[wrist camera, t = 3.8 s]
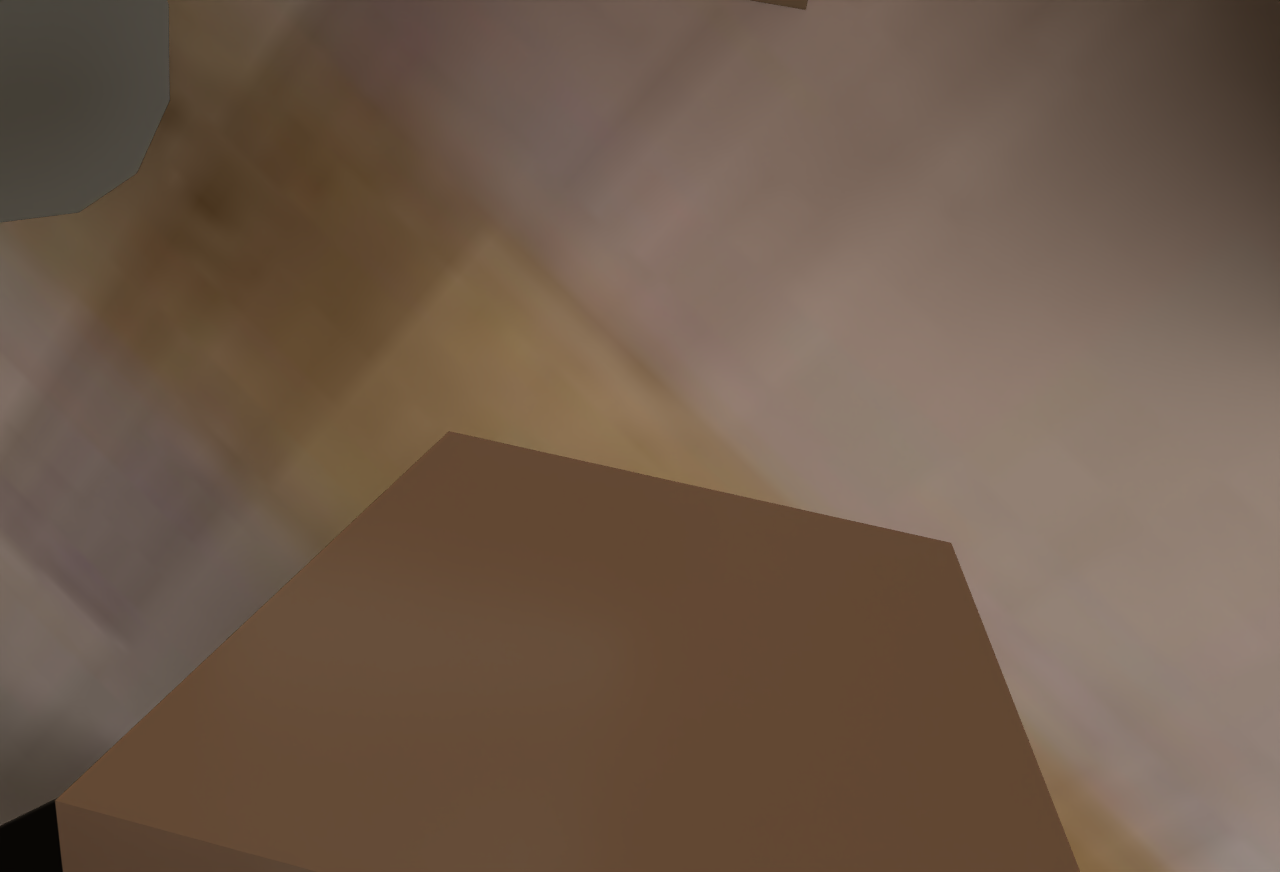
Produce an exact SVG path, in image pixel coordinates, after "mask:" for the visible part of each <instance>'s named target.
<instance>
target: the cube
mask: <svg viewBox="0 0 1280 872" xmlns="http://www.w3.org/2000/svg"><path fill="white" fill-rule="evenodd" d="M55 805H56V814H57V823H58V832H59V841H60V850H61V859H62V868H63V872H1080V870H1079V868H1078V865H1077V863H1076V860H1075V857H1074V855H1073V852H1072V850H1071V847H1070V845H1069V842H1068V840H1067V837H1066V835H1065V832H1064V829H1063V827H1062V824H1061V822H1060V819H1059V817H1058V814H1057V812H1056V809H1055V806H1054V804H1053V801H1052V799H1051V796H1050V794H1049V791H1048V789H1047V786H1046V784H1045V781H1044V778H1043V776H1042V773H1041V771H1040V768H1039V766H1038V763H1037V761H1036V758H1035V756H1034V753H1033V750H1032V748H1031V745H1030V743H1029V740H1028V738H1027V735H1026V733H1025V730H1024V727H1023V725H1022V722H1021V720H1020V717H1019V715H1018V712H1017V710H1016V707H1015V705H1014V702H1013V699H1012V697H1011V694H1010V692H1009V689H1008V687H1007V684H1006V682H1005V679H1004V676H1003V674H1002V671H1001V669H1000V666H999V664H998V661H997V659H996V656H995V654H994V651H993V648H992V646H991V643H990V641H989V638H988V636H987V633H986V631H985V628H984V625H983V623H982V620H981V618H980V615H979V613H978V610H977V608H976V605H975V603H974V600H973V597H972V595H971V592H970V590H969V587H968V585H967V582H966V580H965V577H964V574H963V572H962V569H961V567H960V564H959V562H958V559H957V557H956V554H955V552H954V549H953V546H952V544H951V543H949V542H945V541H940V540H936V539H931V538H927V537H922V536H918V535H913V534H909V533H904V532H900V531H895V530H891V529H886V528H882V527H877V526H873V525H868V524H864V523H859V522H855V521H850V520H846V519H841V518H837V517H832V516H828V515H823V514H819V513H814V512H810V511H805V510H801V509H796V508H792V507H787V506H783V505H778V504H774V503H769V502H765V501H760V500H756V499H751V498H747V497H742V496H738V495H733V494H729V493H724V492H720V491H715V490H711V489H706V488H702V487H697V486H693V485H688V484H684V483H679V482H675V481H670V480H666V479H661V478H657V477H652V476H648V475H643V474H639V473H634V472H630V471H625V470H621V469H616V468H612V467H607V466H603V465H598V464H594V463H589V462H585V461H580V460H576V459H571V458H567V457H562V456H558V455H553V454H549V453H544V452H540V451H535V450H531V449H526V448H522V447H517V446H513V445H508V444H504V443H499V442H495V441H490V440H486V439H481V438H477V437H472V436H468V435H463V434H459V433H454V432H450V431H449V432H448V433H447V434H445V435H444V436H443V437H442V438H441V439H440V440H439V441H438V442H437V443H436V444H435V445H434V446H433V447H432V448H431V449H430V450H428V451H427V452H426V453H425V454H424V455H423V456H422V457H421V458H420V459H419V460H418V461H417V462H416V463H415V464H414V465H412V466H411V467H410V468H409V469H408V470H407V471H406V472H405V473H404V474H403V475H402V476H401V477H400V478H399V479H398V480H396V481H395V482H394V483H393V484H392V485H391V486H390V487H389V488H388V489H387V490H386V491H385V492H384V493H383V494H382V495H380V496H379V497H378V498H377V499H376V500H375V501H374V502H373V503H372V504H371V505H370V506H369V507H368V508H367V509H366V510H364V511H363V512H362V513H361V514H360V515H359V516H358V517H357V518H356V519H355V520H354V521H353V522H352V523H351V524H350V525H348V526H347V527H346V528H345V529H344V530H343V531H342V532H341V533H340V534H339V535H338V536H337V537H336V538H335V539H334V540H332V541H331V542H330V543H329V544H328V545H327V546H326V547H325V548H324V549H323V550H322V551H321V552H320V553H319V554H318V555H316V556H315V557H314V558H313V559H312V560H311V561H310V562H309V563H308V564H307V565H306V566H305V567H304V568H303V569H302V570H300V571H299V572H298V573H297V574H296V575H295V576H294V577H293V578H292V579H291V580H290V581H289V582H288V583H287V584H286V585H284V586H283V587H282V588H281V589H280V590H279V591H278V592H277V593H276V594H275V595H274V596H273V597H272V598H271V599H270V600H268V601H267V602H266V603H265V604H264V605H263V606H262V607H261V608H260V609H259V610H258V611H257V612H256V613H255V614H254V615H252V616H251V617H250V618H249V619H248V620H247V621H246V622H245V623H244V624H243V625H242V626H241V627H240V628H239V629H238V630H236V631H235V632H234V633H233V634H232V635H231V636H230V637H229V638H228V639H227V640H226V641H225V642H224V643H223V644H222V645H220V646H219V647H218V648H217V649H216V650H215V651H214V652H213V653H212V654H211V655H210V656H209V657H208V658H207V659H206V660H204V661H203V662H202V663H201V664H200V665H199V666H198V667H197V668H196V669H195V670H194V671H193V672H192V673H191V674H190V675H188V676H187V677H186V678H185V679H184V680H183V681H182V682H181V683H180V684H179V685H178V686H177V687H176V688H175V689H174V690H172V691H171V692H170V693H169V694H168V695H167V696H166V697H165V698H164V699H163V700H162V701H161V702H160V703H159V704H158V705H157V706H155V707H154V708H153V709H152V710H151V711H150V712H149V713H148V714H147V715H146V716H145V717H144V718H143V719H142V720H141V721H139V722H138V723H137V724H136V725H135V726H134V727H133V728H132V729H131V730H130V731H129V732H128V733H127V734H126V735H125V736H123V737H122V738H121V739H120V740H119V741H118V742H117V743H116V744H115V745H114V746H113V747H112V748H111V749H110V750H109V751H107V752H106V753H105V754H104V755H103V756H102V757H101V758H100V759H99V760H98V761H97V762H96V763H95V764H94V765H93V766H91V767H90V768H89V769H88V770H87V771H86V772H85V773H84V774H83V775H82V776H81V777H80V778H79V779H78V780H77V781H75V782H74V783H73V784H72V785H71V786H70V787H69V788H68V789H67V790H66V791H65V792H64V793H63V794H62V795H61V796H59V797H58V798H57V799H56V800H55Z"/></svg>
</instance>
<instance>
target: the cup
mask: <svg viewBox="0 0 1280 872" xmlns="http://www.w3.org/2000/svg"><path fill="white" fill-rule="evenodd" d="M169 101H170V83H169V4H168V2H167V0H0V222H7V221H15V220H23V219H31V218H39V217H47V216H55V215H62V214H70V213H78V212H80V211H82V210H83V209H85V208H86V207H88V206H89V205H90V204H92V203H93V202H95V201H96V200H98V199H99V198H101V197H102V196H104V195H105V194H107V193H108V192H110V191H111V190H113V189H114V188H116V187H117V186H119V185H120V184H121V183H123V182H124V181H126V180H127V179H129V178H130V177H132V176H133V175H135V174H136V173H137V171H138V169H139V167H140V165H141V163H142V160H143V158H144V156H145V154H146V152H147V149H148V147H149V145H150V143H151V141H152V138H153V136H154V134H155V132H156V129H157V127H158V125H159V123H160V121H161V118H162V116H163V114H164V112H165V110H166V107H167V105H168V103H169Z"/></svg>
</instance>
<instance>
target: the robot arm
mask: <svg viewBox="0 0 1280 872" xmlns="http://www.w3.org/2000/svg"><path fill="white" fill-rule="evenodd" d="M56 799H57V798H56ZM56 799H54V800H52V801H50V802H48V803H46V804H44V805H42V806H40V807H38V808H36V809H34V810H32V811H30V812H28V813H26V814H24V815H22V816H19V817H17V818H15V819H13V820H11V821H9V822H7V823H5V824H3V825H1V826H0V872H63V868H62V859H61V850H60V841H59V832H58V823H57V814H56V805H55V800H56Z"/></svg>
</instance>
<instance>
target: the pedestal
mask: <svg viewBox="0 0 1280 872" xmlns="http://www.w3.org/2000/svg"><path fill="white" fill-rule="evenodd" d="M752 1H758V2H764V3H770V4H775V5H781V6H787V7H793V8H798V9H804V10H806V6H807V2H808V0H752Z"/></svg>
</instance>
